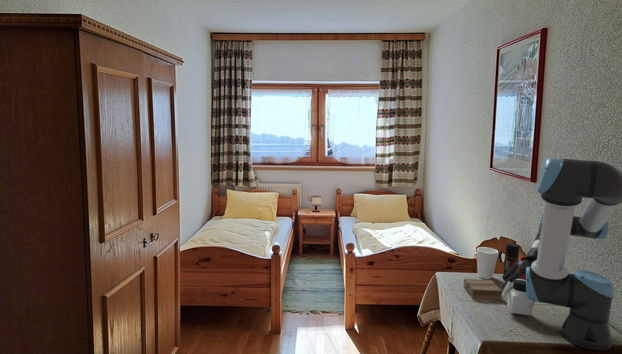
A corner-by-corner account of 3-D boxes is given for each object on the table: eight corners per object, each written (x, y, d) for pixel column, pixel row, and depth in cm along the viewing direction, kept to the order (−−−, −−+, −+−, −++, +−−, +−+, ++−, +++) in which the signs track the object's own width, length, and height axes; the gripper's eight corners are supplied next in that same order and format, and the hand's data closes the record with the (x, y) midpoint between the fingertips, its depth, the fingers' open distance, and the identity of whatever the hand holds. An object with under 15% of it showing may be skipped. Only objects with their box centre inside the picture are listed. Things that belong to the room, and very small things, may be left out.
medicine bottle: (531, 315, 169) (535, 285, 167) (511, 313, 170) (514, 283, 168) (526, 307, 176) (529, 278, 174) (506, 305, 177) (510, 276, 175)
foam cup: (473, 272, 217) (475, 246, 215) (493, 274, 216) (496, 248, 214) (476, 279, 208) (478, 252, 206) (497, 281, 206) (500, 254, 204)
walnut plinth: (501, 300, 185) (502, 291, 185) (472, 298, 186) (473, 289, 185) (490, 288, 197) (491, 280, 197) (463, 287, 197) (464, 278, 197)
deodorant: (501, 274, 215) (504, 244, 213) (504, 271, 220) (507, 242, 218) (514, 277, 212) (518, 247, 210) (517, 274, 217) (520, 244, 214)
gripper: (570, 267, 172) (549, 317, 164) (513, 252, 189) (491, 296, 181) (567, 256, 168) (544, 307, 160) (509, 242, 184) (486, 287, 176)
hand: (516, 301), depth 170 cm, fingers closed on medicine bottle, 10 cm apart
